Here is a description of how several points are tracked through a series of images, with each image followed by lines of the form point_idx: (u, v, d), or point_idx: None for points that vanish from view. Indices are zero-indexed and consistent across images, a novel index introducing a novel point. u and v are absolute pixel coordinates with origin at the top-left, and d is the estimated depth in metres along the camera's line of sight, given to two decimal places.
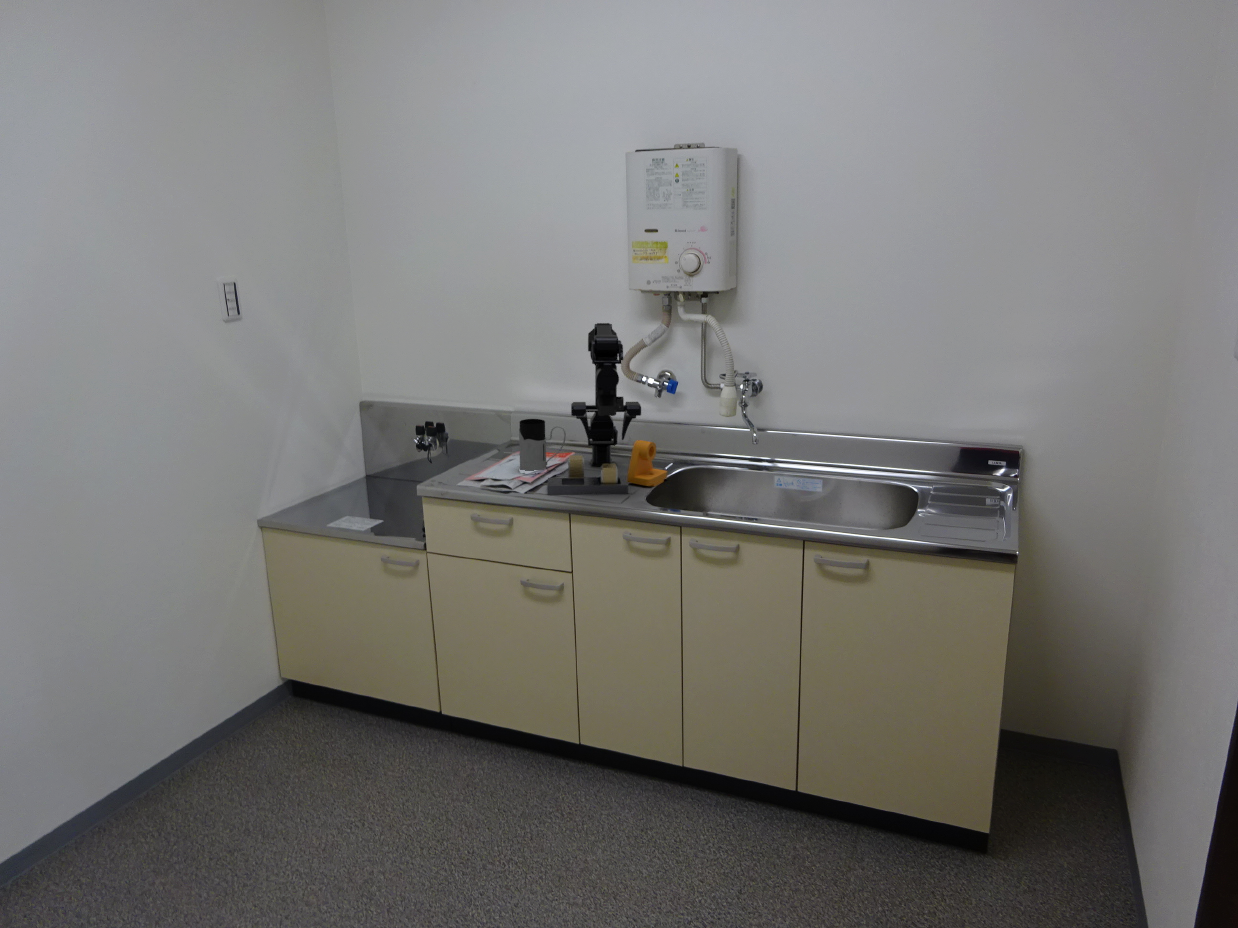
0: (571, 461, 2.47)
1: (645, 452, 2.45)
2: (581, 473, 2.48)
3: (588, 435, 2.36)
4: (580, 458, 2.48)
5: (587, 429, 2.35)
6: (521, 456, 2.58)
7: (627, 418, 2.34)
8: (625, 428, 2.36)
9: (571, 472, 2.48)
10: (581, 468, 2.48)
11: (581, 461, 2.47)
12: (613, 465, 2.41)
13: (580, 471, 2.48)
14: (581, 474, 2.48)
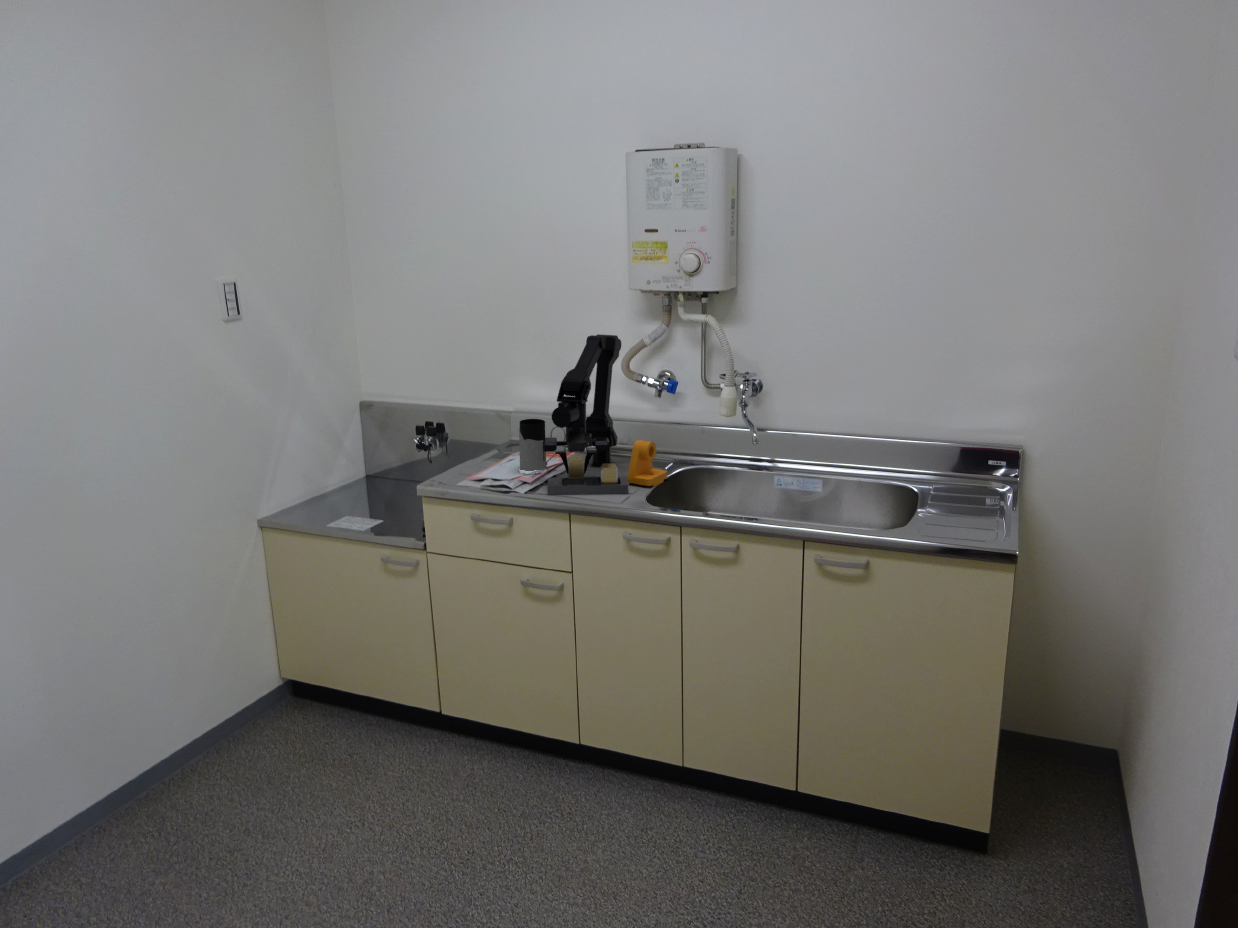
0: (571, 461, 2.47)
1: (645, 452, 2.45)
2: (581, 473, 2.48)
3: (567, 469, 2.49)
4: (580, 458, 2.48)
5: (566, 463, 2.48)
6: (521, 456, 2.58)
7: (588, 453, 2.46)
8: (587, 462, 2.48)
9: (571, 472, 2.48)
10: (581, 468, 2.48)
11: (581, 461, 2.47)
12: (613, 465, 2.41)
13: (580, 471, 2.48)
14: (581, 474, 2.48)
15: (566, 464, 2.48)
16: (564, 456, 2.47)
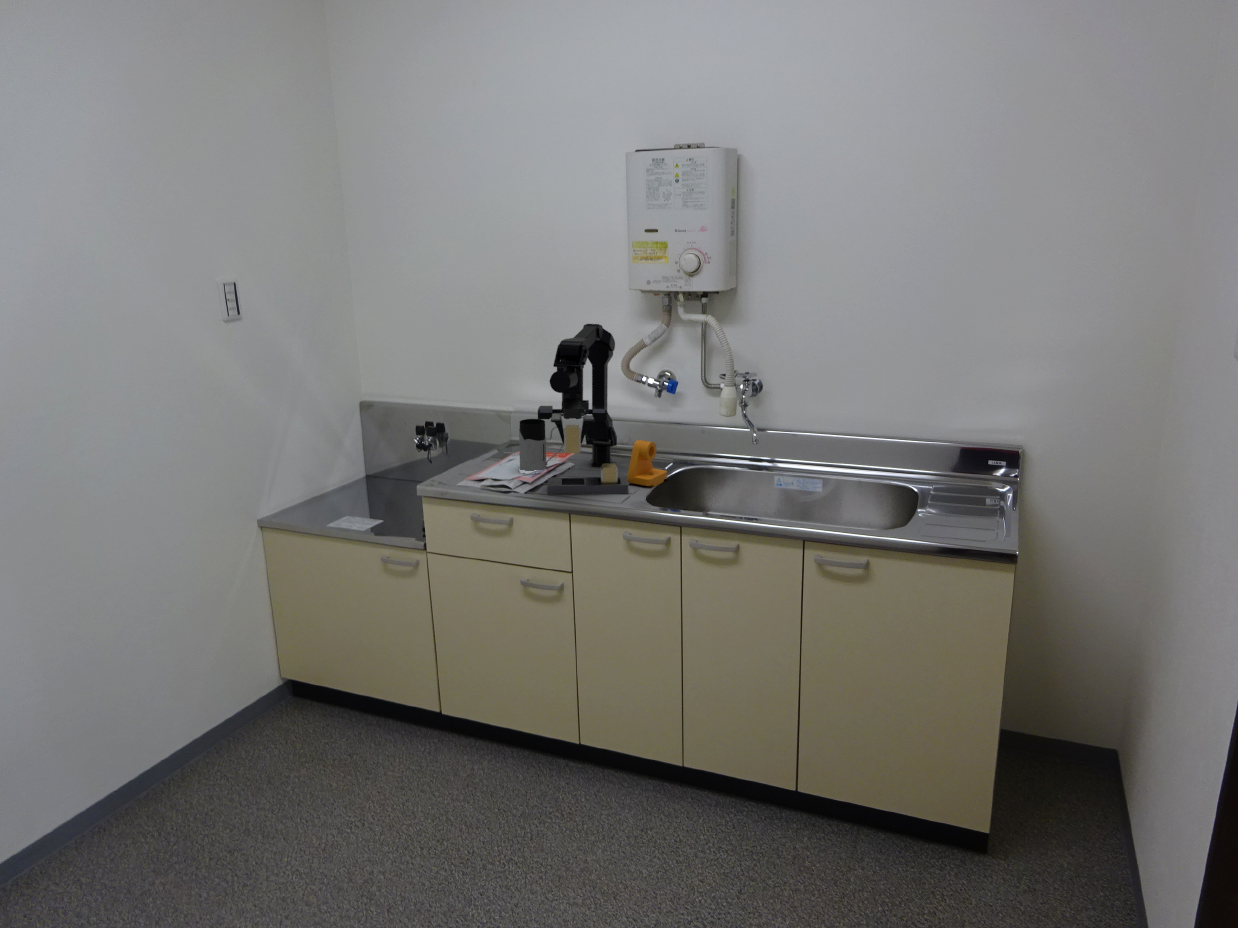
0: (567, 430, 2.36)
1: (645, 452, 2.45)
2: (577, 442, 2.37)
3: (563, 438, 2.38)
4: (577, 427, 2.37)
5: (562, 432, 2.37)
6: (521, 456, 2.58)
7: (585, 422, 2.36)
8: (583, 432, 2.38)
9: (567, 441, 2.37)
10: (577, 437, 2.37)
11: (578, 430, 2.36)
12: (613, 465, 2.41)
13: (576, 440, 2.37)
14: (577, 444, 2.37)
15: (562, 433, 2.38)
16: (560, 425, 2.36)
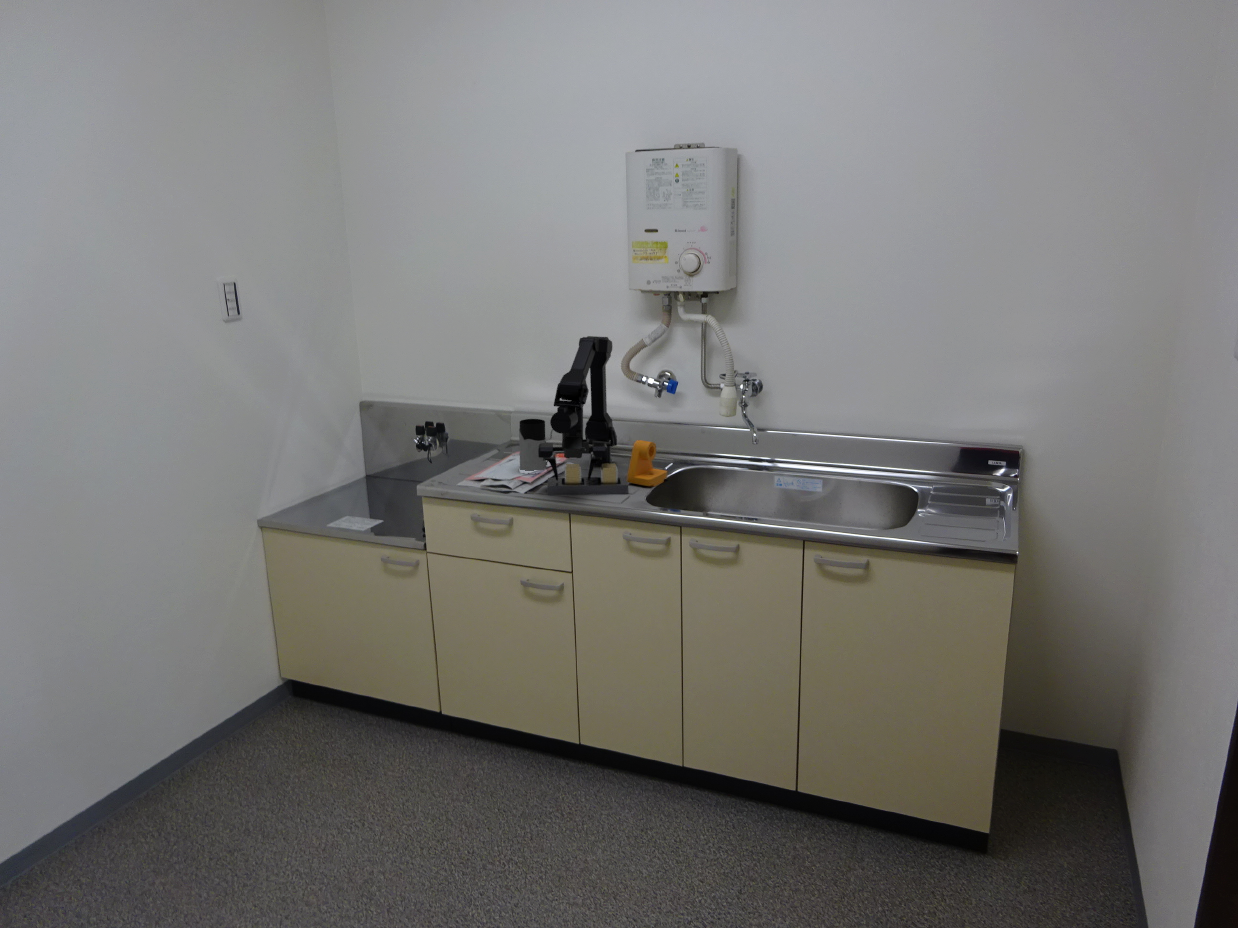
0: (568, 470, 2.38)
1: (645, 452, 2.45)
2: (578, 482, 2.39)
3: (556, 476, 2.40)
4: (577, 467, 2.39)
5: (555, 470, 2.39)
6: (521, 456, 2.58)
7: (592, 459, 2.37)
8: (591, 469, 2.40)
9: (568, 481, 2.39)
10: (578, 477, 2.39)
11: (578, 470, 2.38)
12: (613, 465, 2.41)
13: (577, 480, 2.39)
14: (578, 483, 2.39)
15: (555, 471, 2.39)
16: (553, 462, 2.38)
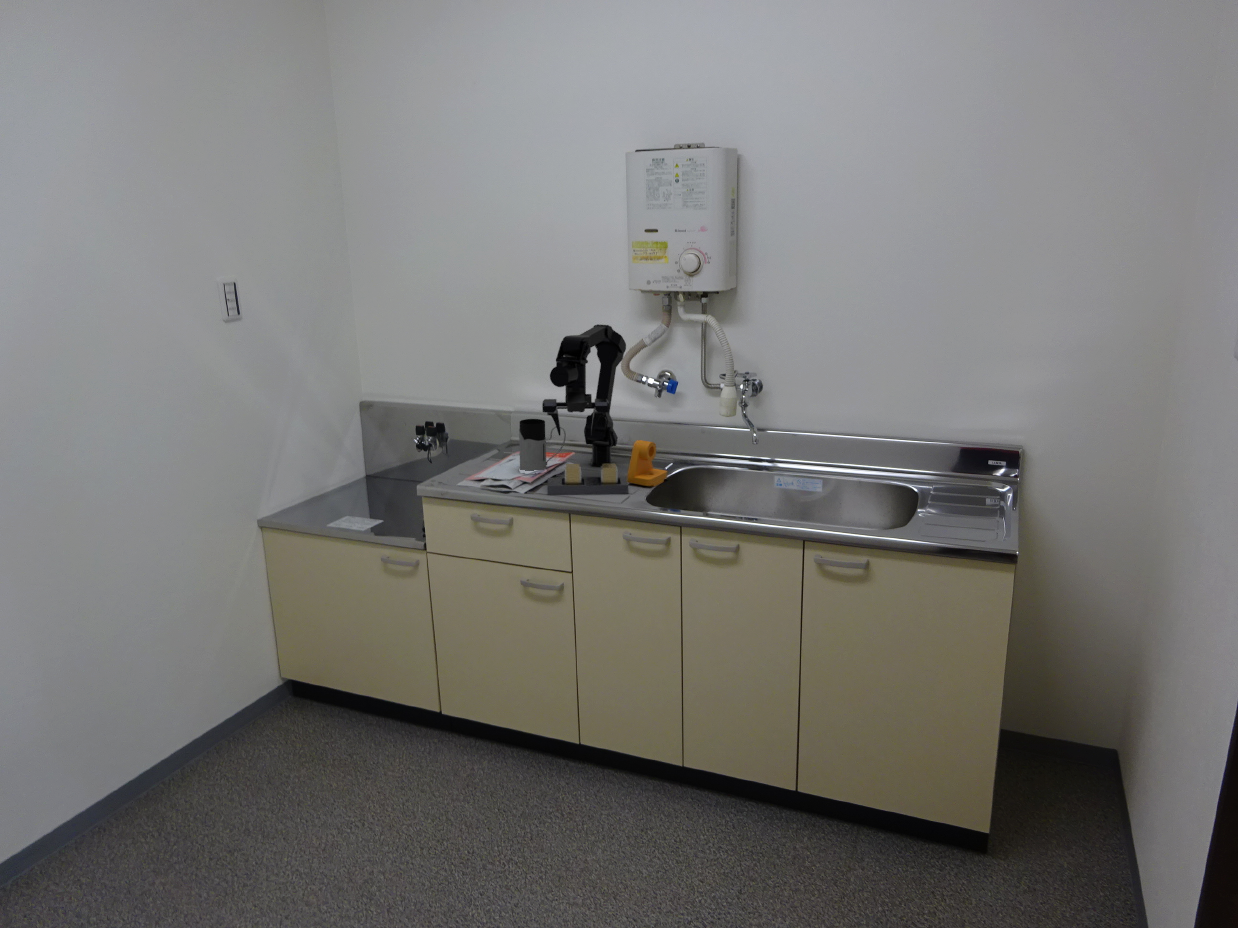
0: (568, 470, 2.38)
1: (645, 452, 2.45)
2: (578, 482, 2.39)
3: (559, 431, 2.48)
4: (577, 467, 2.39)
5: (558, 425, 2.47)
6: (521, 456, 2.58)
7: (596, 414, 2.45)
8: (594, 424, 2.48)
9: (568, 481, 2.39)
10: (578, 477, 2.39)
11: (578, 470, 2.38)
12: (613, 465, 2.41)
13: (577, 480, 2.39)
14: (578, 483, 2.39)
15: (558, 426, 2.47)
16: (556, 417, 2.46)
